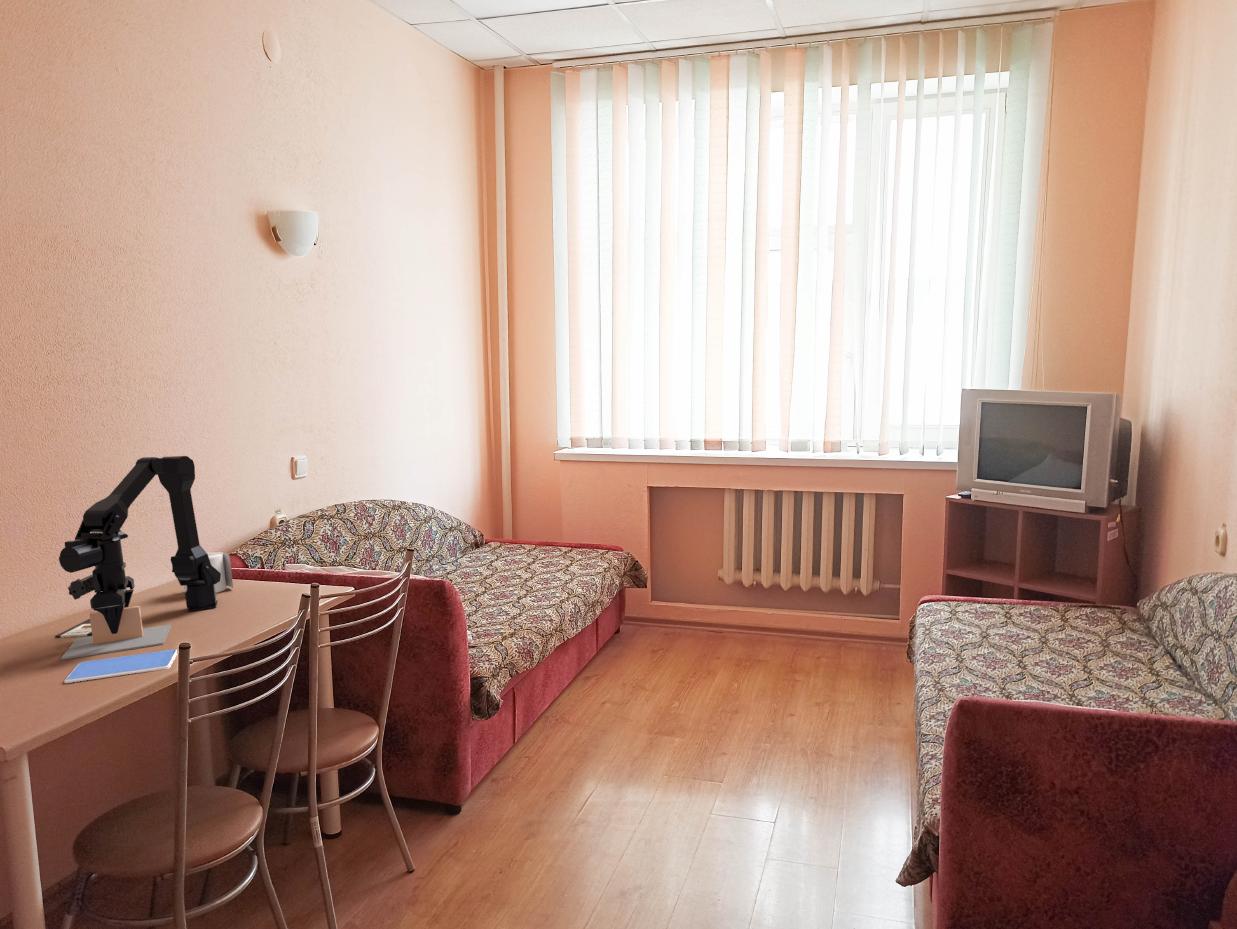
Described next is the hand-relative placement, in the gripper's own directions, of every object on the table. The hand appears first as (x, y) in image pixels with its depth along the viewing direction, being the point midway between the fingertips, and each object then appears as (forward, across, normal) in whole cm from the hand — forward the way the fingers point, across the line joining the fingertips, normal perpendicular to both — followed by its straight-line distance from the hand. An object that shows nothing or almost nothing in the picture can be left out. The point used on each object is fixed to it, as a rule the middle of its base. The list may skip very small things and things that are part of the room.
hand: (118, 628), depth 208 cm
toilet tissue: (+3, -41, +16) cm, 44 cm away
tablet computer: (+4, +22, +4) cm, 23 cm away
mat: (+3, +1, 0) cm, 3 cm away
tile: (+3, 0, 0) cm, 3 cm away
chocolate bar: (+4, -19, -8) cm, 21 cm away
